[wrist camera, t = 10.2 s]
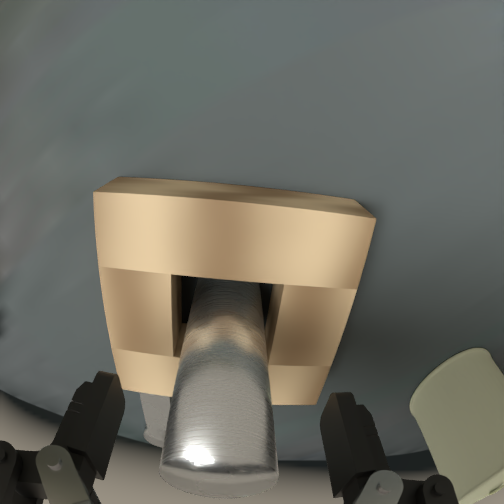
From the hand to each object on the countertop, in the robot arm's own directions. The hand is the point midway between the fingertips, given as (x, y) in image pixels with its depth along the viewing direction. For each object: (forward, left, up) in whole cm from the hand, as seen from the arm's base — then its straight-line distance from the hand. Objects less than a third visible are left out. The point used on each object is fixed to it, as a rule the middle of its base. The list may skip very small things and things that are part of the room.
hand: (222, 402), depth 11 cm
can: (-21, +9, -8) cm, 24 cm away
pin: (0, 0, -8) cm, 8 cm away
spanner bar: (+5, +10, -8) cm, 14 cm away
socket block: (0, 0, -8) cm, 8 cm away
